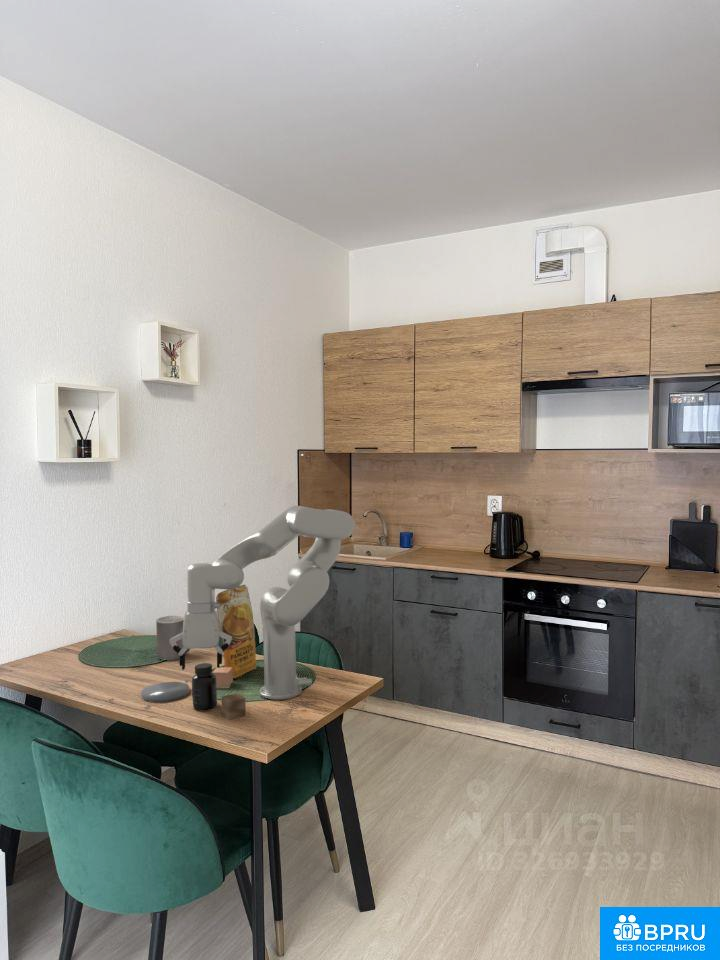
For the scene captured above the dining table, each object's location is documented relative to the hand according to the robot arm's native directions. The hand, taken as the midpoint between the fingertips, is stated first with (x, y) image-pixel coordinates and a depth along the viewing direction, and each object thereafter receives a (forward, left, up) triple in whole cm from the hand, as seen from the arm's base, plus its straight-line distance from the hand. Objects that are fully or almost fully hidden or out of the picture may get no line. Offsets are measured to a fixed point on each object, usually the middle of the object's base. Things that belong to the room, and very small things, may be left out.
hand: (201, 667), depth 193 cm
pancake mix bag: (-11, -28, -12) cm, 32 cm away
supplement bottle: (-1, 0, -12) cm, 12 cm away
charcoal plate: (+11, -14, -12) cm, 21 cm away
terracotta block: (-6, -17, -12) cm, 22 cm away
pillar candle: (+12, -52, -12) cm, 55 cm away
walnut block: (-9, +8, -12) cm, 17 cm away
